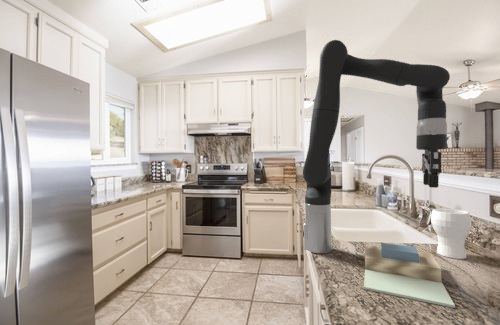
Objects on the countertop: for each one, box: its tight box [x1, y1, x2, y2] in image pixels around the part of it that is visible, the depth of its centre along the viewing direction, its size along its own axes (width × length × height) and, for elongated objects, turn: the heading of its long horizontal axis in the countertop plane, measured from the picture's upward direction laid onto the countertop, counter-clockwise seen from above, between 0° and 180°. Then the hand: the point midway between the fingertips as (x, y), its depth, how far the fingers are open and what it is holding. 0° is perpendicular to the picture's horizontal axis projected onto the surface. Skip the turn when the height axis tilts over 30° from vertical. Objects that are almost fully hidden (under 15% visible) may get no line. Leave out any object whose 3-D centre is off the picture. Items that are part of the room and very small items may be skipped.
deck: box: [364, 244, 442, 283], centre depth 71 cm, size 18×12×4 cm, turn 62°
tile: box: [380, 242, 419, 263], centre depth 70 cm, size 9×6×2 cm, turn 62°
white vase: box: [430, 208, 472, 260], centre depth 81 cm, size 11×11×15 cm
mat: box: [363, 268, 456, 309], centre depth 60 cm, size 18×11×1 cm, turn 62°
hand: (430, 186), depth 74 cm, fingers open, 8 cm apart
